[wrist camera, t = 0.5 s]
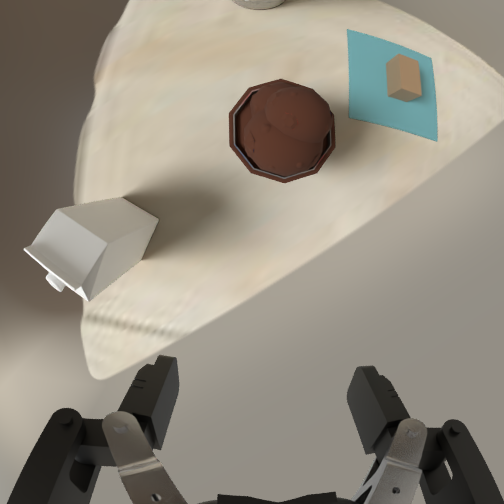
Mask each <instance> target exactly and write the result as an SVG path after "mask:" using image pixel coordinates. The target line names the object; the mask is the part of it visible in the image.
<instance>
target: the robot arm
mask: <svg viewBox="0 0 504 504" xmlns="http://www.w3.org/2000/svg"><path fill="white" fill-rule="evenodd" d="M233 1H234V2H235V3H237V4H238V5H240V6H243V7H246V8H250V9H269V8H273V7H276V6H278V5H280V4H281V3H283V2H284V1H285V0H233ZM178 392H179V376H178V366H177V359H176V357H170V356H163V355H159V356H158V358H157V360H156V362H155V364H154V365H150V364H146V365H145V366H144V367H142V368H141V369H140V370H139V371H138V373H137V375H136V377H135V380H133V382H132V384H131V387H130V388H129V390H128V392H127V394H126V396H125V398H124V399H123V401H122V403H121V405H120V407H119V409H118V411H117V412H112V413H110V414H108V415H107V416H106V417H105V418H104V419H85V418H82V417H81V415H80V414H79V413H78V412H77V411H76V410H74V409H71V408H62V409H59V410H57V411H56V412H55V413H53V415H52V417H51V418H50V420H49V422H48V423H47V425H46V427H45V428H44V430H43V432H42V434H41V435H40V438H39V439H38V441H37V443H36V444H35V446H34V448H33V450H32V452H31V454H30V456H29V458H28V460H27V462H26V464H25V465H24V467H23V470H22V472H21V474H20V476H19V478H18V480H17V482H16V484H15V486H14V489H13V491H12V493H11V495H10V498H9V500H8V502H7V504H89V503H90V499H91V496H92V493H93V490H94V487H95V484H96V481H97V478H98V475H99V472H100V469H101V466H117V468H118V473H119V476H120V478H121V480H122V483H123V485H124V487H125V489H126V491H127V493H128V495H129V497H130V499H131V501H132V503H133V504H187V502H186V501H185V499H184V498H183V496H182V495H181V494H180V492H179V491H178V489H177V488H176V486H175V485H174V483H173V481H172V480H171V479H170V477H169V475H168V474H167V472H166V470H165V469H164V467H163V466H162V464H161V462H160V461H159V460H158V459H157V458H156V456H155V454H154V453H153V449H158V450H161V448H162V445H163V442H164V438H165V435H166V432H167V428H168V425H169V422H170V418H171V415H172V412H173V409H174V406H175V403H176V399H177V396H178ZM347 402H348V405H349V408H350V410H351V413H352V416H353V419H354V422H355V424H356V427H357V430H358V433H359V436H360V439H361V442H362V444H363V448H364V450H365V454H371V453H375V454H376V458H375V459H374V461H373V463H372V465H371V467H370V469H369V471H368V473H367V475H366V477H365V478H364V480H363V482H362V484H361V486H360V488H359V489H358V491H357V492H356V494H355V495H354V496H353V498H352V499H351V500H348V499H344V498H337V497H336V492H329V493H321V494H311V495H306V496H302V497H299V498H296V499H292V500H288V501H284V502H272V501H267V500H262V499H257V498H252V497H248V496H232V495H221V494H218V497H217V500H213V501H207V502H202V503H199V504H411V503H412V500H413V498H414V495H415V492H416V489H417V486H418V484H420V487H421V490H422V492H423V496H424V499H425V502H426V504H504V501H503V498H502V496H501V494H500V491H499V489H498V487H497V485H496V483H495V480H494V478H493V476H492V474H491V472H490V470H489V468H488V466H487V464H486V462H485V460H484V458H483V456H482V455H481V453H480V451H479V449H478V447H477V445H476V444H475V442H474V440H473V438H472V436H471V435H470V433H469V431H468V429H467V428H466V426H465V425H464V424H463V423H462V422H461V421H459V420H454V419H452V420H448V421H446V422H445V423H444V425H443V426H442V428H426V426H425V424H424V423H423V422H421V421H420V420H417V419H414V418H410V416H409V414H408V412H407V410H406V408H405V407H404V405H403V403H402V401H401V399H400V398H399V397H398V394H397V392H396V391H395V389H394V387H393V386H392V384H391V382H390V381H389V380H388V379H387V378H385V377H384V376H383V375H379V374H378V372H377V370H376V368H375V367H374V366H360V367H357V368H356V370H355V373H354V376H353V378H352V381H351V383H350V386H349V389H348V392H347ZM446 460H447V462H448V464H449V466H450V468H451V471H452V473H453V477H452V480H451V477H450V475H449V473H448V470H447V468H446V466H445V463H444V462H445V461H446Z"/></svg>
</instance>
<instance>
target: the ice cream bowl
mask: <svg viewBox="0 0 504 504" xmlns="http://www.w3.org/2000/svg"><path fill="white" fill-rule="evenodd" d="M229 143H230V147H231V148H232V150H233V151H234V152H235V153H236V155H237V156H238V157H239V158H240V160H241V161H242V162H243V164H244V165H245V166H246V167H247V169H248V170H249V171H250V172H251V173H253V174H256V175H259V176H263V177H266V178H269V179H272V180H276V181H279V182H282V183H287V182H290V181H293V180H297V179H300V178H303V177H306V176H309V175H313V174H316V173H317V172H318V171H319V170H320V168H321V167H322V165H323V164H324V163H325V161H326V160H327V158H328V157H329V156H330V154H331V153H332V151H333V150H334V149H335V124H334V115H333V113H332V112H331V111H330V108H329V105H328V103H327V102H326V101H325V100H324V99H323V98H322V97H321V96H320V95H318V94H317V93H316V92H315V91H314V90H313V89H311V88H308V87H305V86H302V85H299V84H296V83H293V82H290V81H286V80H283V79H279V80H275V81H271V82H267V83H264V84H260V85H257V86H253V87H250V88H248V90H247V91H246V92H245V93H244V95H243V96H242V97H241V98H240V100H239V101H238V102H237V104H236V105H235V106H234V107H233V109H232V110H231V111H230V113H229Z"/></svg>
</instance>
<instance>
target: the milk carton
mask: <svg viewBox="0 0 504 504" xmlns="http://www.w3.org/2000/svg"><path fill="white" fill-rule="evenodd" d="M158 221H159V219H158V218H156V217H154V216H153V215H151V214H149V213H148V212H146V211H144V210H142V209H141V208H139V207H137V206H135V205H134V204H132V203H130V202H129V201H127V200H125V199H123V198H122V197H118V198H112V199H107V200H101V201H96V202H90V203H85V204H80V205H75V206H70V207H65V208H60V209H57V210H56V211H55V212H54V214H53V215H52V216H51V218H50V219H49V220H48V221H47V223H46V224H45V226H44V227H43V228H42V230H41V231H40V233H39V234H38V236H37V237H36V239H35V240H34V242H33V243H32V245H31V246H28V247H26V248H24V250H25V251H26V252H27V253H28V254H29V255H30V256H31V257H32V258H34V259H35V260H36V261H37V262H38V263H39V264H41V265H42V266H43V267H44V268H45V269H46V270H47V271H49V274H48V275H47V276H46V279H47V281H48V282H49V283H50V284H51V285H52V286H53V287H54V288H55V289H57V290H58V291H60V292H61V291H62V290H63V288H64V287H65V285H66V286H68V287H69V288H70V289H72V290H73V291H75V292H76V293H77V294H79V295H80V296H81V297H83V298H84V299H86V300H87V301H91V300H92V299H93V298H94V297H96V296H97V295H98V294H99V293H101V292H102V291H103V290H104V289H106V288H107V287H108V286H109V285H111V284H112V283H113V282H114V281H116V280H117V279H118V278H119V277H121V276H122V275H123V274H124V273H126V272H127V271H128V270H130V269H131V268H132V267H134V266H135V265H136V264H137V263H139V262H140V261H141V259H142V257H143V254H144V252H145V250H146V247H147V245H148V243H149V241H150V239H151V236H152V234H153V232H154V230H155V228H156V226H157V223H158Z"/></svg>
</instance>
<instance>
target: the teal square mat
mask: <svg viewBox="0 0 504 504" xmlns="http://www.w3.org/2000/svg"><path fill="white" fill-rule="evenodd" d="M347 37H348V57H349V118H352V119H357V120H362V121H366V122H371V123H375V124H379V125H383V126H387V127H391V128H394V129H398V130H402V131H405V132H409V133H412V134H415V135H418V136H421V137H425V138H428V139H431V140H434V141H436V142H437V108H436V94H435V83H434V74H433V67H432V60H431V58H429V57H427V56H425V55H422V54H420V53H418V52H415V51H413V50H411V49H408V48H405V47H403V46H400V45H397V44H395V43H392V42H389V41H386V40H383V39H380V38H377V37H374V36H370V35H367V34H363V33H360V32H356V31H352V30H348V29H347Z"/></svg>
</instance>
